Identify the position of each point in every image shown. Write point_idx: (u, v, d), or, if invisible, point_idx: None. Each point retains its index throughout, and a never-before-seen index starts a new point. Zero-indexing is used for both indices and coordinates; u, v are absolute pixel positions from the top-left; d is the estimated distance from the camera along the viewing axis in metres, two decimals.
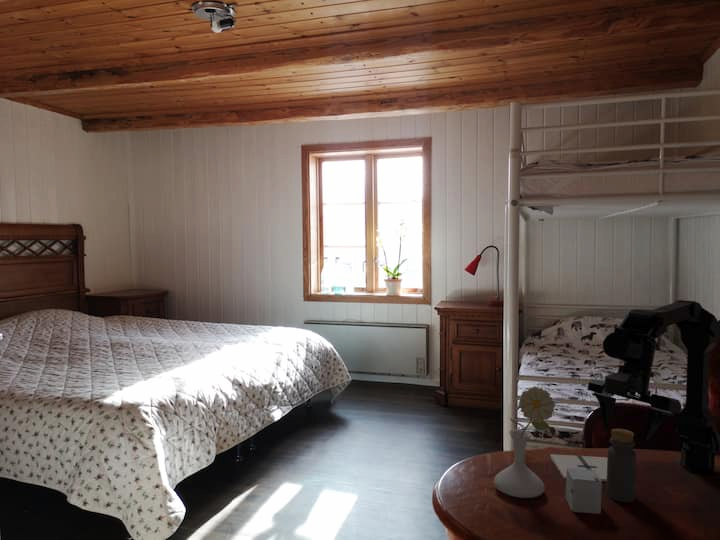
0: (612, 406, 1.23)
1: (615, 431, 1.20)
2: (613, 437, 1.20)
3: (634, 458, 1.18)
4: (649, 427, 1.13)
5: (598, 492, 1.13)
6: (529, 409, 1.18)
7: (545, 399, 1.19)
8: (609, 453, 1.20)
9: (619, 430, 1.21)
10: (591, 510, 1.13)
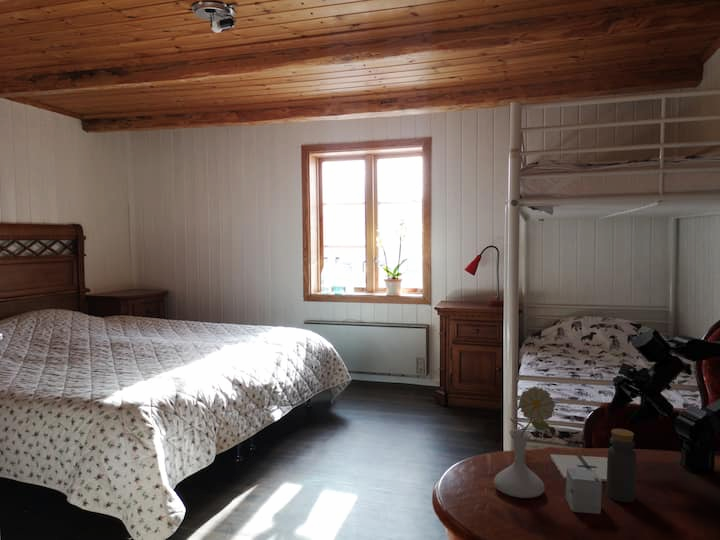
0: (625, 402, 1.40)
1: (615, 431, 1.20)
2: (613, 437, 1.20)
3: (634, 458, 1.18)
4: (635, 413, 1.30)
5: (597, 492, 1.13)
6: (529, 409, 1.18)
7: (545, 399, 1.19)
8: (609, 453, 1.20)
9: (619, 430, 1.21)
10: (591, 510, 1.13)
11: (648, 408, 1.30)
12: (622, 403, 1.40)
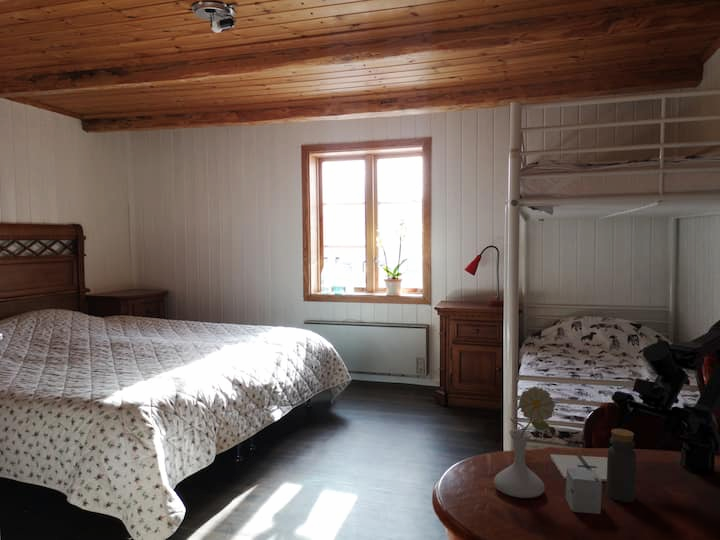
0: (629, 420, 1.29)
1: (615, 431, 1.20)
2: (613, 437, 1.20)
3: (634, 458, 1.18)
4: (663, 434, 1.19)
5: (597, 492, 1.13)
6: (529, 409, 1.18)
7: (545, 399, 1.19)
8: (609, 453, 1.20)
9: (619, 430, 1.21)
10: (591, 510, 1.13)
11: (673, 426, 1.20)
12: (628, 422, 1.29)
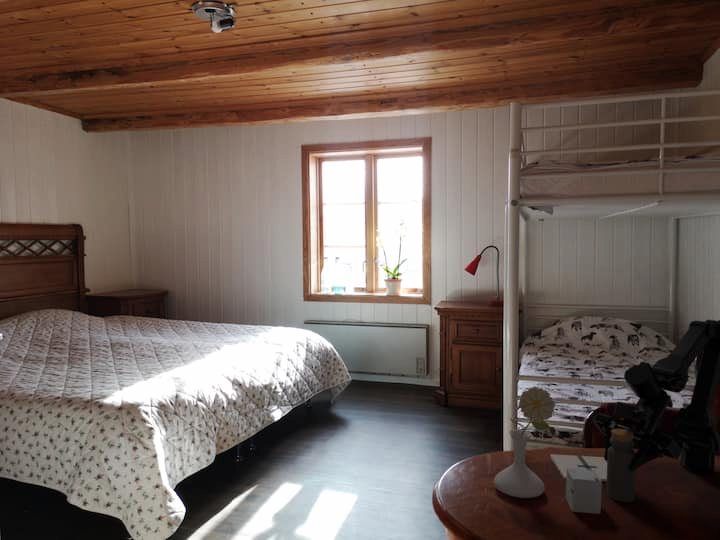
0: None
1: (615, 431, 1.20)
2: (613, 437, 1.20)
3: None
4: (637, 458, 1.17)
5: (597, 492, 1.13)
6: (529, 409, 1.18)
7: (545, 399, 1.19)
8: (609, 453, 1.20)
9: (619, 430, 1.21)
10: (591, 510, 1.13)
11: (647, 450, 1.18)
12: None
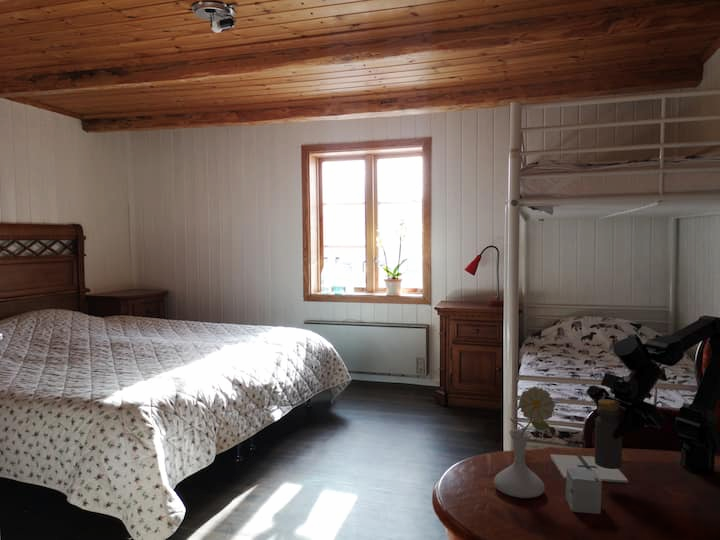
0: None
1: (602, 401, 1.25)
2: (599, 406, 1.25)
3: None
4: (621, 426, 1.21)
5: (597, 492, 1.13)
6: (529, 409, 1.18)
7: (545, 399, 1.19)
8: (596, 422, 1.25)
9: (606, 400, 1.26)
10: (591, 510, 1.13)
11: (633, 419, 1.22)
12: None
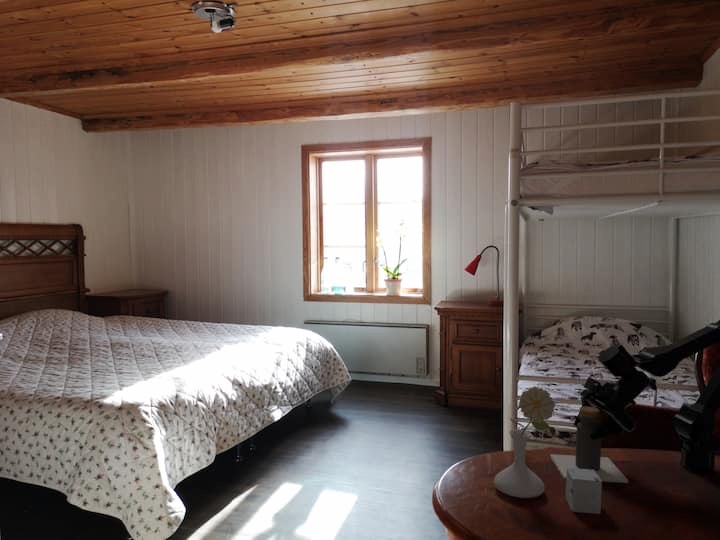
0: None
1: (583, 408, 1.36)
2: (580, 412, 1.36)
3: None
4: (598, 428, 1.30)
5: (597, 492, 1.13)
6: (529, 409, 1.18)
7: (545, 399, 1.19)
8: None
9: (588, 407, 1.36)
10: (591, 510, 1.13)
11: (611, 423, 1.29)
12: None
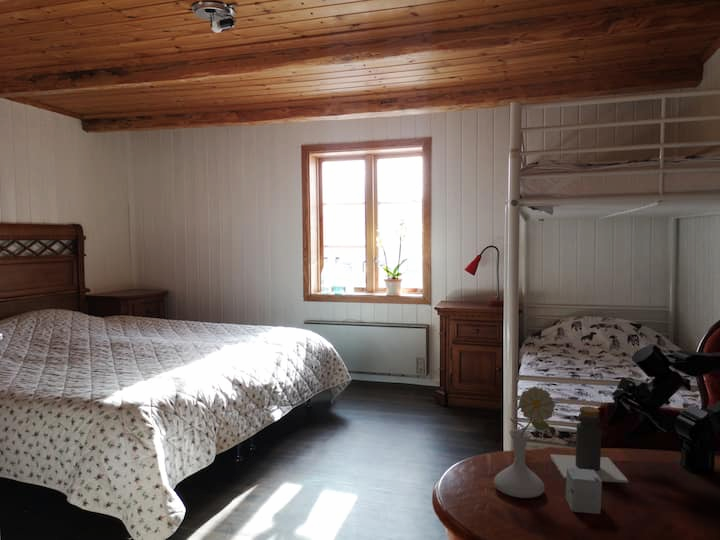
0: (624, 416, 1.40)
1: (583, 408, 1.36)
2: (580, 412, 1.36)
3: (595, 432, 1.32)
4: (633, 428, 1.30)
5: (597, 492, 1.13)
6: (529, 409, 1.18)
7: (545, 399, 1.19)
8: None
9: (588, 407, 1.36)
10: (591, 510, 1.13)
11: (647, 423, 1.30)
12: (621, 417, 1.40)
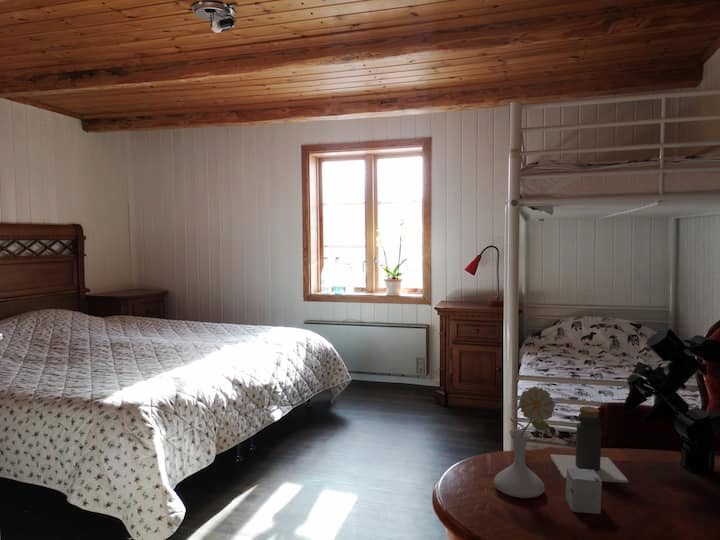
0: (639, 401, 1.41)
1: (583, 408, 1.36)
2: (580, 412, 1.36)
3: (595, 432, 1.32)
4: (650, 412, 1.30)
5: (597, 492, 1.13)
6: (529, 409, 1.18)
7: (545, 399, 1.19)
8: None
9: (588, 407, 1.36)
10: (591, 510, 1.13)
11: (663, 407, 1.30)
12: (636, 402, 1.41)
